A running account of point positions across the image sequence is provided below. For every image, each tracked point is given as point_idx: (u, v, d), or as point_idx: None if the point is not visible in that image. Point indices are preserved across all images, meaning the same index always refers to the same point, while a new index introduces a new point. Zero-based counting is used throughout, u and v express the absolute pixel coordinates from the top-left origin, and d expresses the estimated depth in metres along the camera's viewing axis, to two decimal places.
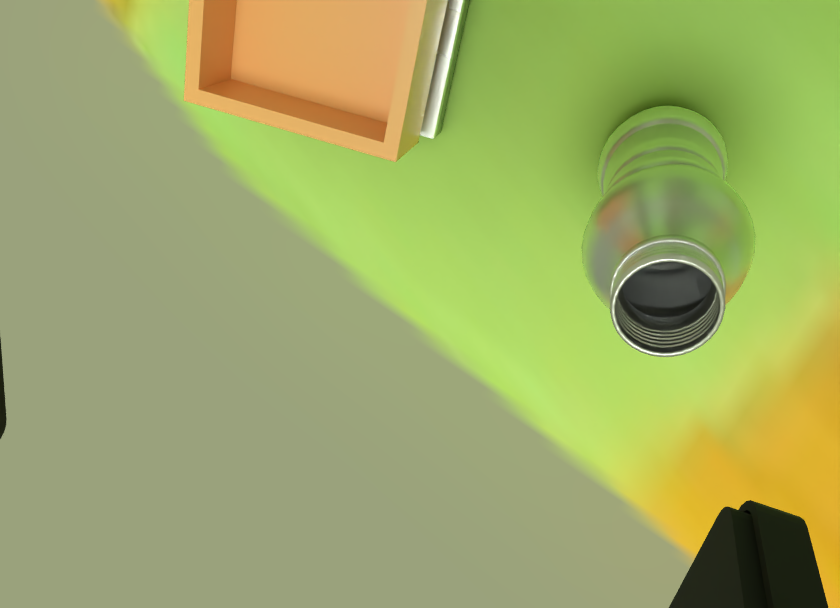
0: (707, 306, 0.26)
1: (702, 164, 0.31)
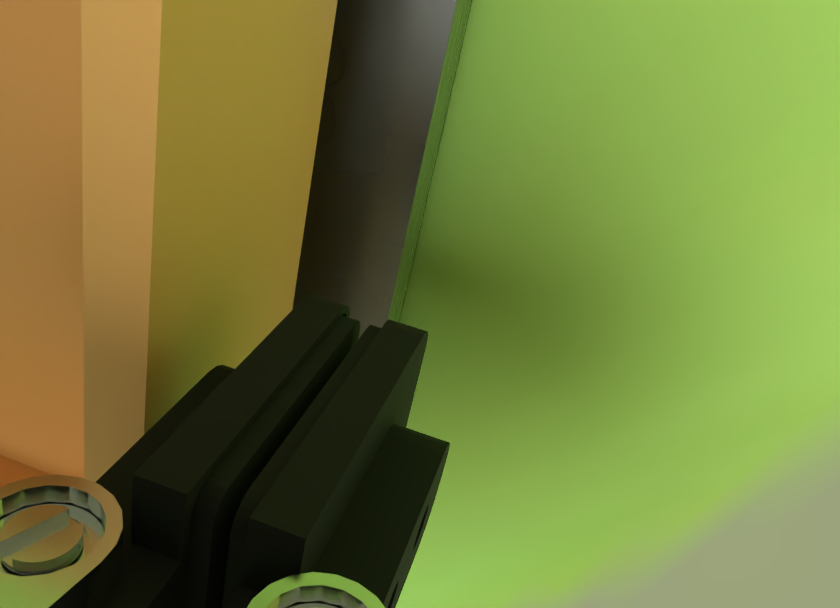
0: None
1: None
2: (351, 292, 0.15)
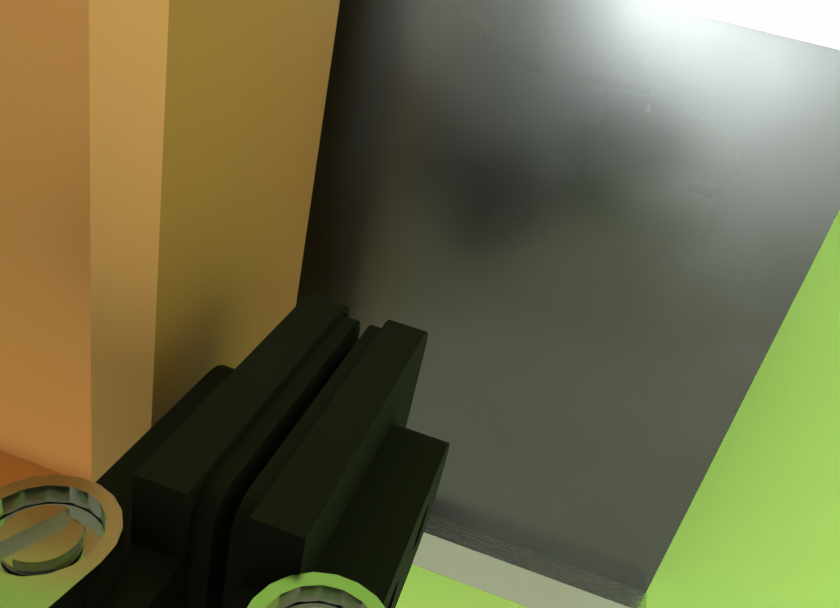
0: None
1: None
2: (692, 397, 0.14)
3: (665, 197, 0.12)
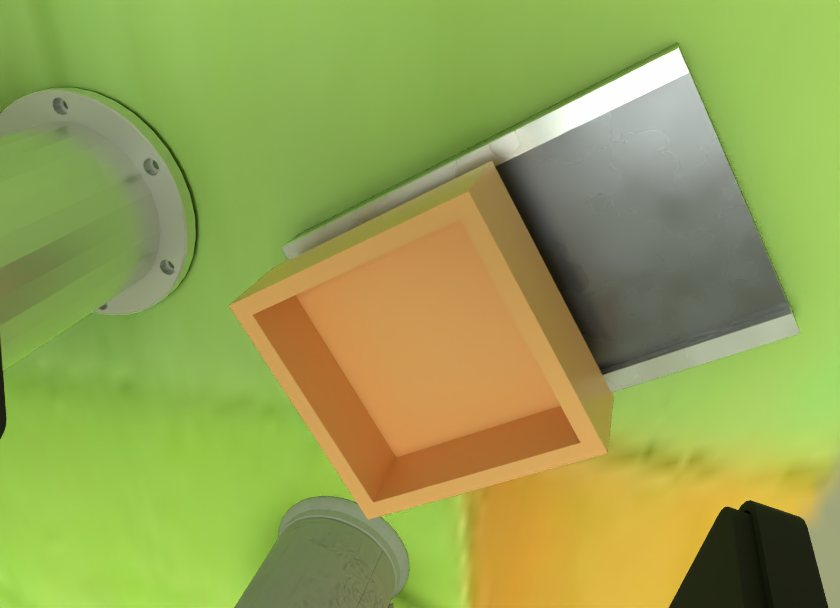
0: None
1: None
2: (728, 217, 0.31)
3: (654, 161, 0.31)
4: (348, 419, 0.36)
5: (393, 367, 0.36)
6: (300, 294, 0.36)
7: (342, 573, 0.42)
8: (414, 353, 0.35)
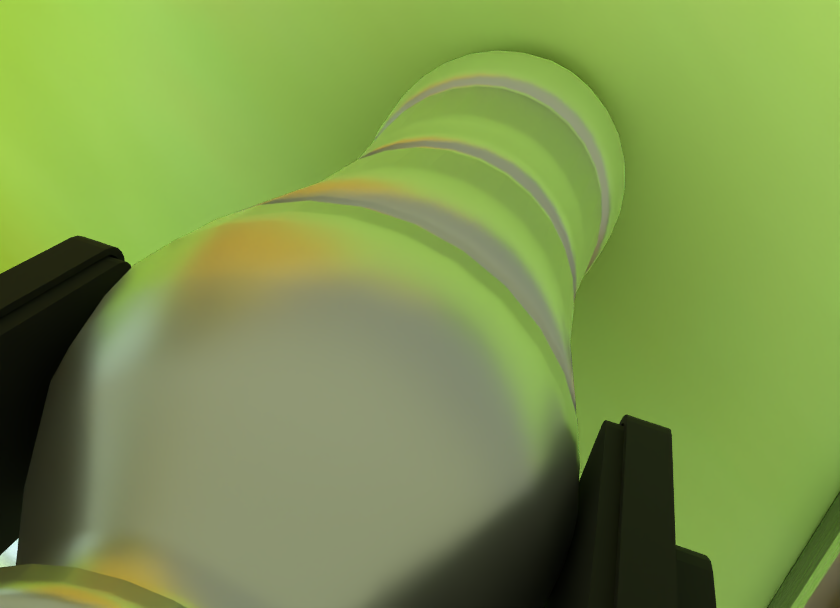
0: None
1: None
2: None
3: None
4: None
5: None
6: None
7: None
8: None
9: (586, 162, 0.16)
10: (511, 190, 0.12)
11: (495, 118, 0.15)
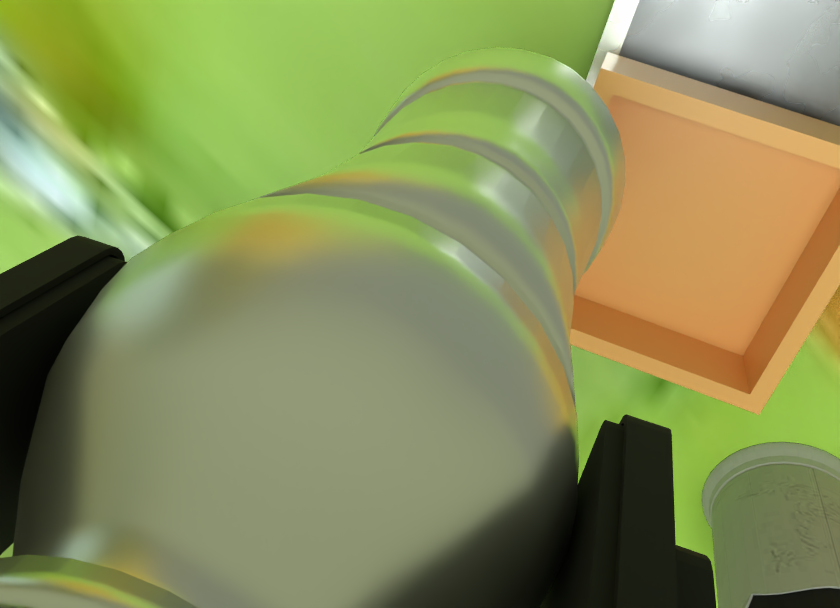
0: None
1: None
2: None
3: None
4: (672, 346, 0.36)
5: (673, 278, 0.36)
6: None
7: (789, 503, 0.39)
8: (679, 251, 0.35)
9: (586, 158, 0.16)
10: (510, 185, 0.12)
11: (495, 113, 0.14)
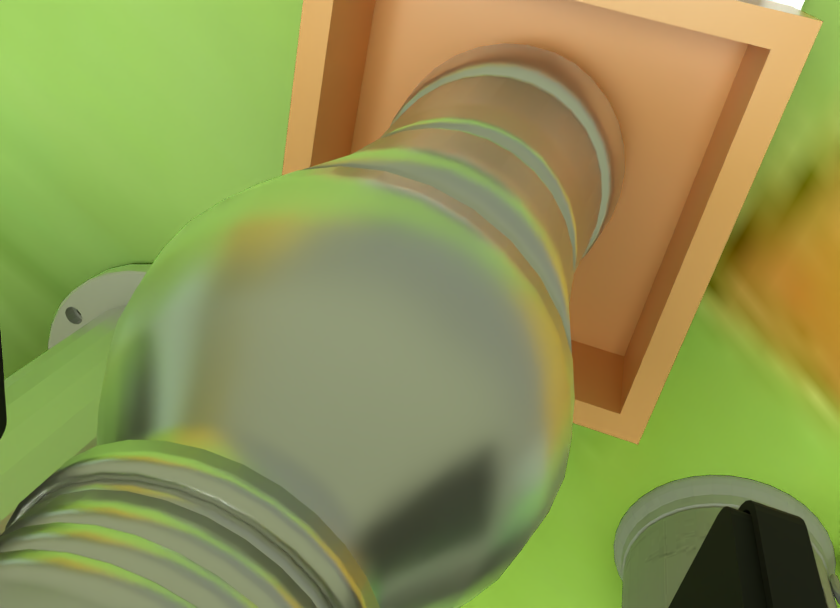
0: None
1: None
2: None
3: None
4: None
5: None
6: None
7: None
8: None
9: (587, 146, 0.17)
10: (516, 166, 0.13)
11: (502, 104, 0.16)
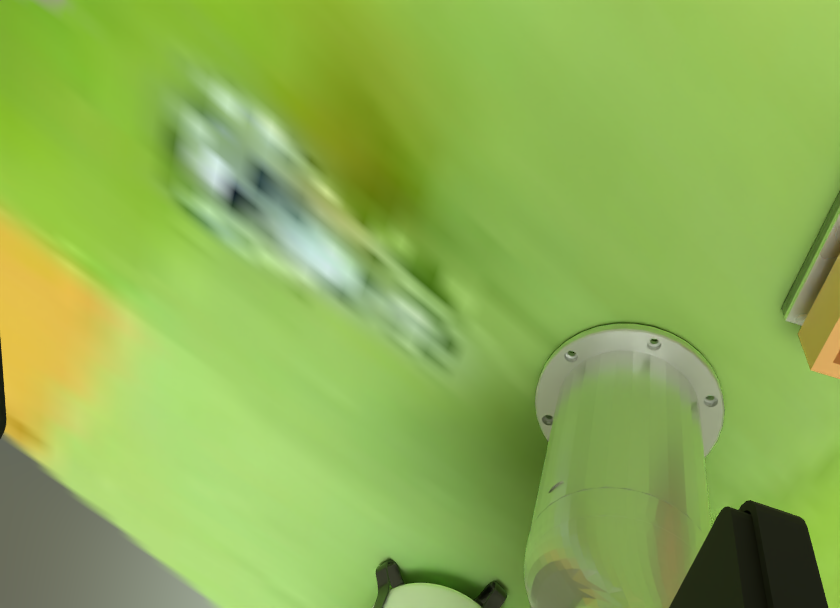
0: None
1: None
2: None
3: None
4: None
5: None
6: None
7: None
8: None
9: None
10: None
11: None
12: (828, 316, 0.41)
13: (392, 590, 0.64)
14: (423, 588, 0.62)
